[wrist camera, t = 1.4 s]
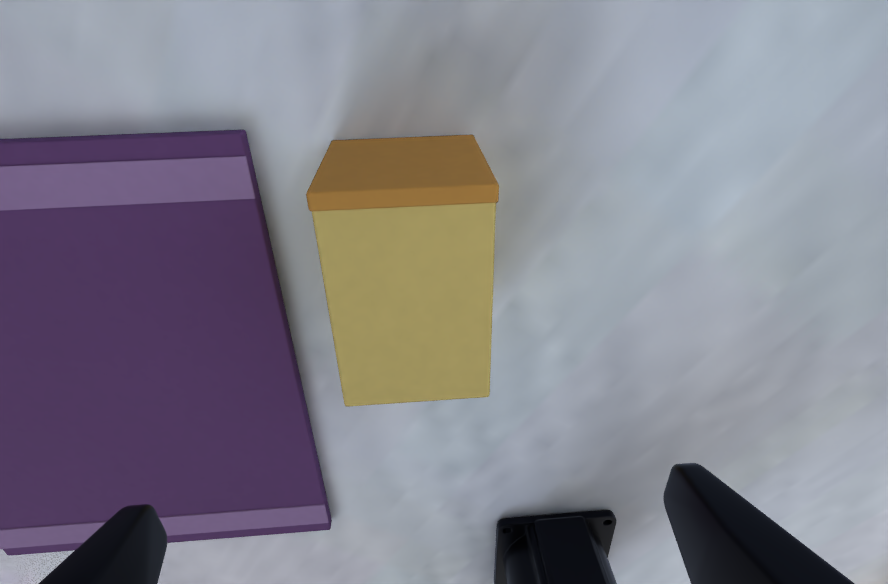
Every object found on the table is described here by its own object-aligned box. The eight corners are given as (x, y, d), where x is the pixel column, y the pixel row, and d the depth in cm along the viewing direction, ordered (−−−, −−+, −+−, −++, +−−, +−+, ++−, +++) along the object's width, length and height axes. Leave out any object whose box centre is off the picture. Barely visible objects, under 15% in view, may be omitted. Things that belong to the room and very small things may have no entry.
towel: (331, 519, 26) (330, 531, 25) (15, 544, 25) (6, 557, 25) (245, 129, 16) (240, 133, 15) (-289, 149, 15) (-317, 156, 14)
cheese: (472, 311, 20) (491, 398, 16) (355, 318, 20) (342, 408, 16) (473, 134, 16) (499, 184, 12) (331, 140, 16) (305, 193, 12)
